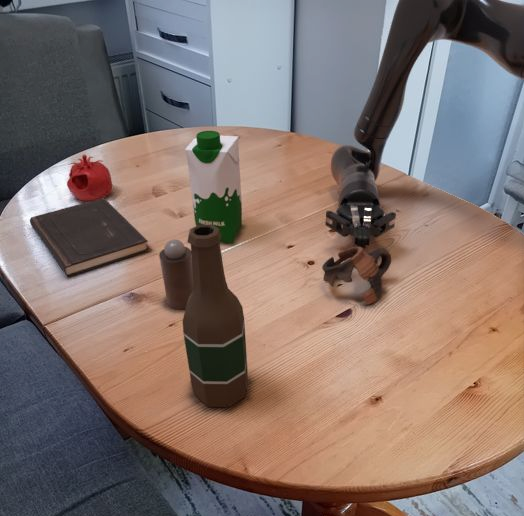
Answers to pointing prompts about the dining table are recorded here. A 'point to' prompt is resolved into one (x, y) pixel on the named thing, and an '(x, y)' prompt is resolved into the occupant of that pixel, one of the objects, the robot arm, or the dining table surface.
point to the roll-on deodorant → (177, 273)
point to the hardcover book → (88, 236)
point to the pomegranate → (89, 180)
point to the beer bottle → (213, 326)
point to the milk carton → (216, 182)
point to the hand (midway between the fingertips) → (362, 243)
